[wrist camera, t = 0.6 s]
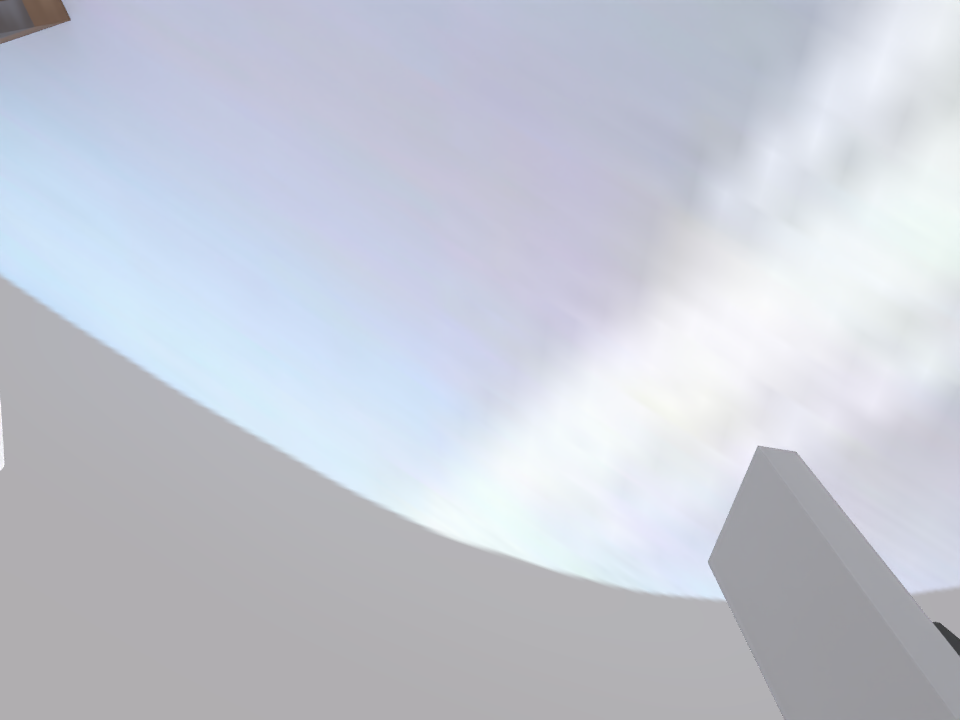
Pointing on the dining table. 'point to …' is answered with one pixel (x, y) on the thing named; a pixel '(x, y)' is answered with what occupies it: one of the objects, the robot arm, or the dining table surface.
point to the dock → (29, 17)
